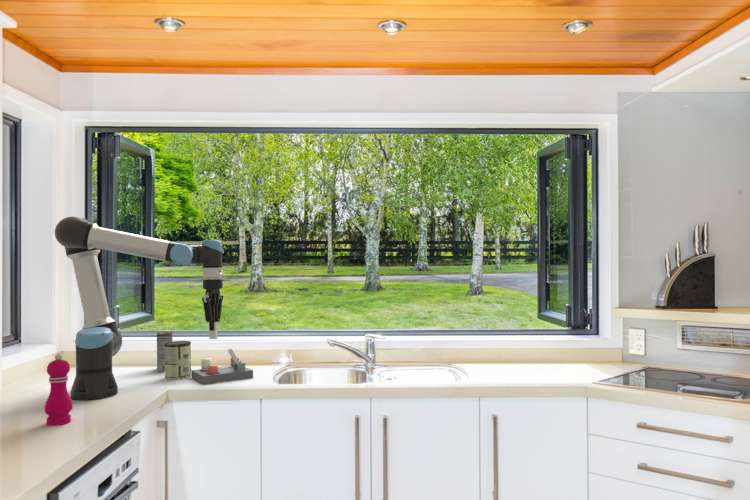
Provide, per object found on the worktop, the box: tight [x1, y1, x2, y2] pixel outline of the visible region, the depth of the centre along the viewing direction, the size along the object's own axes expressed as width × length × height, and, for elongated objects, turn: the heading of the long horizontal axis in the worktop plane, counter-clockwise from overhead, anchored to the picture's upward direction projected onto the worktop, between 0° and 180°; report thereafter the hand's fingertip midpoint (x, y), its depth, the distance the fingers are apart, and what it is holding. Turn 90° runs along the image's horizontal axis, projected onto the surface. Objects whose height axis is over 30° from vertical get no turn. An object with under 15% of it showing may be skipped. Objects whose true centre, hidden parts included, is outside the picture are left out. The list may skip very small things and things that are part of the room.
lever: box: [226, 348, 240, 367], centre depth 232 cm, size 2×3×9 cm, turn 35°
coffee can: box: [164, 340, 192, 380], centre depth 236 cm, size 10×10×14 cm
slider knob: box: [230, 357, 240, 366], centre depth 240 cm, size 2×3×3 cm
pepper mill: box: [44, 353, 73, 426], centre depth 170 cm, size 7×7×20 cm
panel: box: [190, 360, 254, 385], centre depth 233 cm, size 20×16×6 cm
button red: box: [208, 364, 219, 375], centre depth 227 cm, size 4×4×5 cm
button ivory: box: [200, 357, 213, 372], centre depth 233 cm, size 4×4×5 cm
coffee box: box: [156, 331, 174, 373], centre depth 253 cm, size 9×6×16 cm
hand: (213, 338), depth 227 cm, fingers closed
